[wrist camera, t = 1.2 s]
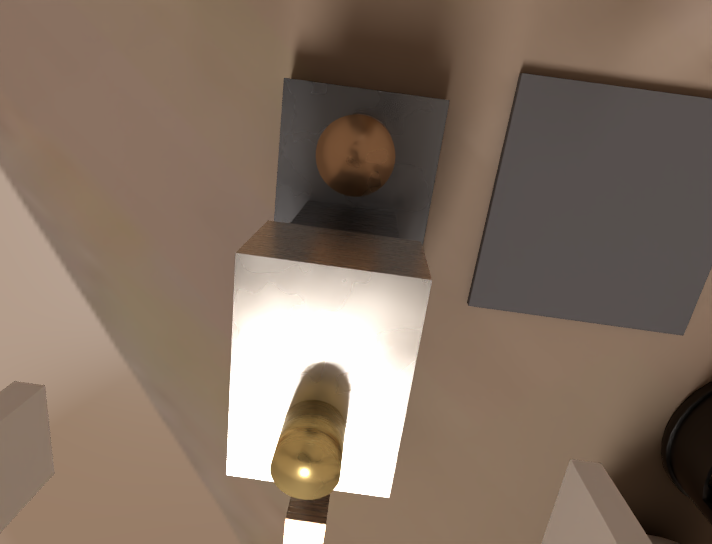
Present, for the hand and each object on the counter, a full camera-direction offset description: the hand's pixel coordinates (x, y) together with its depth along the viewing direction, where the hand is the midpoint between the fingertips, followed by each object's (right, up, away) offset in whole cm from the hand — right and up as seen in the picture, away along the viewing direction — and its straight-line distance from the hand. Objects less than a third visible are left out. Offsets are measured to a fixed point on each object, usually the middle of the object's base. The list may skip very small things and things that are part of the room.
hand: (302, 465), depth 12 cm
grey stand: (+1, +4, +12) cm, 13 cm away
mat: (+13, +8, +10) cm, 18 cm away
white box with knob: (0, +3, +6) cm, 7 cm away
